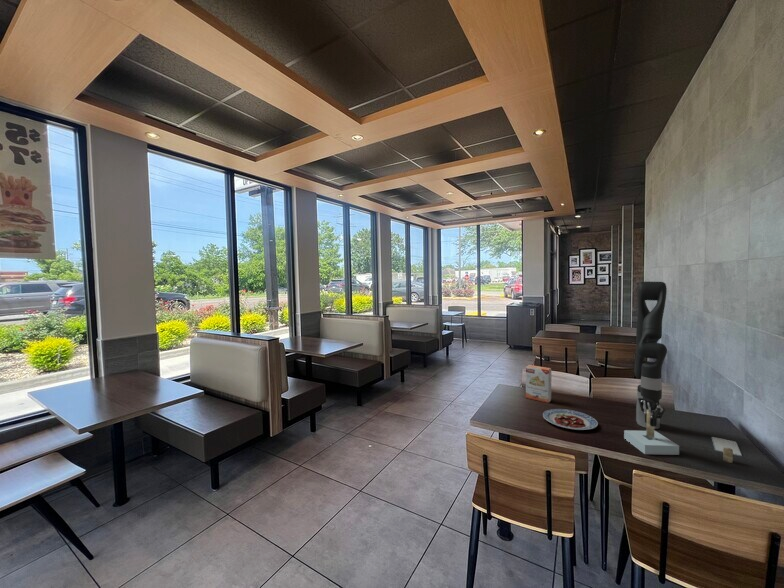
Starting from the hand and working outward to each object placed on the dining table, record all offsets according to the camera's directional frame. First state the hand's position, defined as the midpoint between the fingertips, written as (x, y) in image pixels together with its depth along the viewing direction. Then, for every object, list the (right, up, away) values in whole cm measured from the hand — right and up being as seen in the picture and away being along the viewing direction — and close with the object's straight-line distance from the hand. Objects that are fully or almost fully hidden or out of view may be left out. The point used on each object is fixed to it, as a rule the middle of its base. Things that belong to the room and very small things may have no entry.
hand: (650, 424), depth 147 cm
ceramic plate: (-22, -10, +27) cm, 36 cm away
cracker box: (-24, -9, +60) cm, 65 cm away
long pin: (0, -6, 0) cm, 6 cm away
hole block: (0, -10, 0) cm, 10 cm away
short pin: (+22, -10, -12) cm, 27 cm away
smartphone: (+33, -10, -1) cm, 35 cm away
